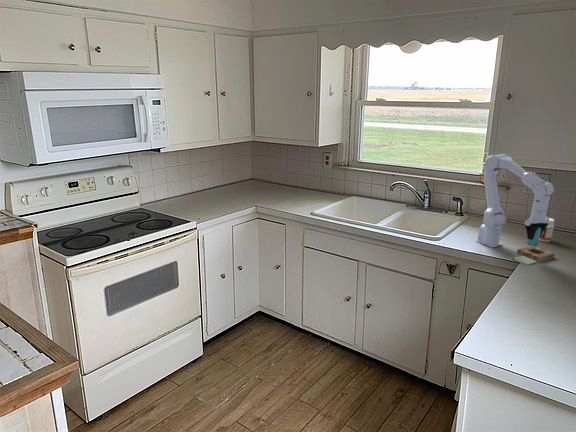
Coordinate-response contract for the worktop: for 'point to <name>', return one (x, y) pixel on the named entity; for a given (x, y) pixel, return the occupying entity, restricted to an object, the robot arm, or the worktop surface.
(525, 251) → the header block
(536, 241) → the teal cylinder
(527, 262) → the rubber mat
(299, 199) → the worktop surface
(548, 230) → the pill bottle
